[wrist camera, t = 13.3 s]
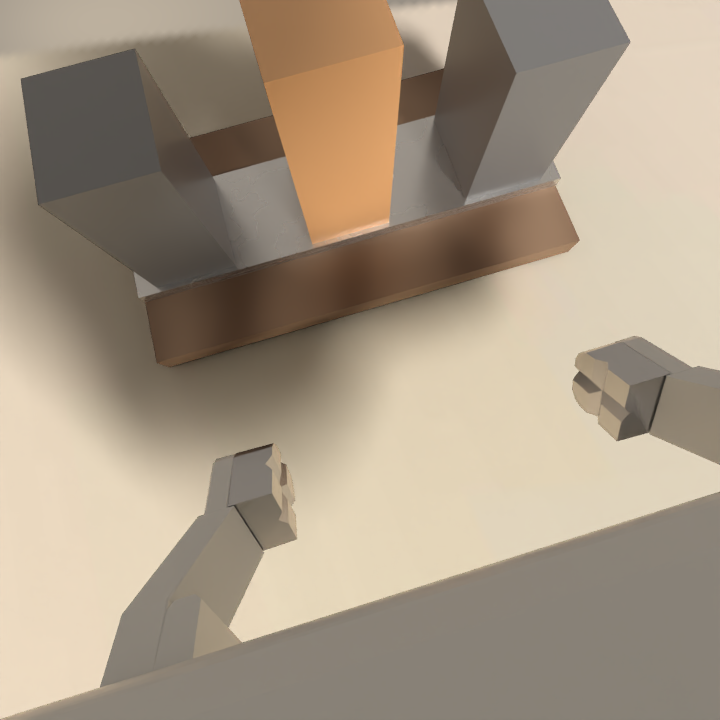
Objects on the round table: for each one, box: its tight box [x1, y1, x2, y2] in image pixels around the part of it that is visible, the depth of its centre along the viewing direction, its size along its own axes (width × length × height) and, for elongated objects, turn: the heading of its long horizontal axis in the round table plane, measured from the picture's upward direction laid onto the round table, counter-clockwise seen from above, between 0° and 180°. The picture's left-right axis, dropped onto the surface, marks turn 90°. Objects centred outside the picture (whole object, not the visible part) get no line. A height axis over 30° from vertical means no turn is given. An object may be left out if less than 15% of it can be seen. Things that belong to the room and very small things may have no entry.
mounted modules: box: [21, 0, 630, 288], centre depth 17 cm, size 20×5×7 cm, turn 106°
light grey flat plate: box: [133, 115, 561, 302], centre depth 20 cm, size 22×6×1 cm, turn 106°
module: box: [240, 0, 404, 244], centre depth 16 cm, size 4×5×9 cm
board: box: [145, 69, 580, 367], centre depth 21 cm, size 22×12×1 cm, turn 106°
